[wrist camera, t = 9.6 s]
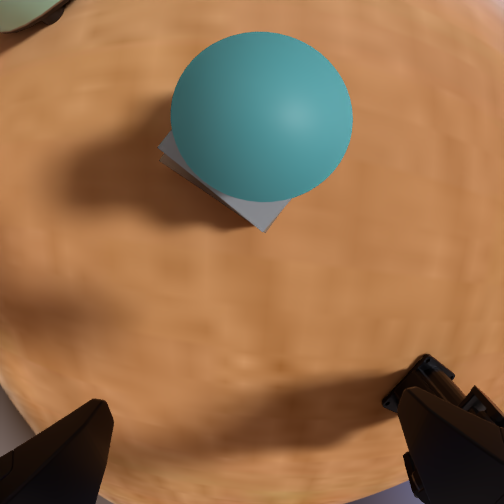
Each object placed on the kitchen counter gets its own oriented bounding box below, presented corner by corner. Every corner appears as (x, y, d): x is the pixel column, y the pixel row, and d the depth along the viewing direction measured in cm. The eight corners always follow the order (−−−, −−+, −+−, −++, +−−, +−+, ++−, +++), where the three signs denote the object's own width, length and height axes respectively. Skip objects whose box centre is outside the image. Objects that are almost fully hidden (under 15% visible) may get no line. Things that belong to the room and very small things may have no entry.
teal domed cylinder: (332, 130, 12) (383, 111, 7) (260, 214, 13) (275, 239, 8) (245, 60, 11) (252, 5, 6) (171, 143, 12) (134, 127, 7)
